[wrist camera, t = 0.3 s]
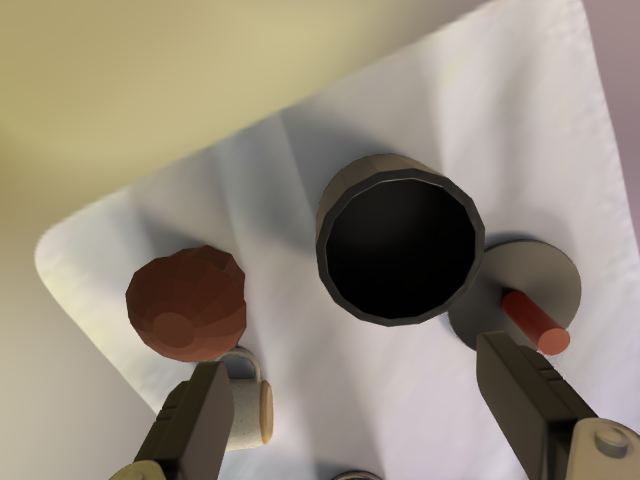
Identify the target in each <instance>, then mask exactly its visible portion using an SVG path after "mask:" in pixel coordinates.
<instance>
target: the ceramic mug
mask: <svg viewBox="0 0 640 480" xmlns="http://www.w3.org/2000/svg"><path fill="white" fill-rule="evenodd" d="M228 354H233V355H239V356H240V357H242V358H243V357H246V359H248V360H250V361H251V363H252V365H253V366H254V370H255V377H256V379H240V380H233V379H231V380H230V379H229V382H230V386H231V390H232V394H233V399H234V408H235V410H234V420H233V424H232V428H231V431H230V435H229V438H228V442H227V446H226V449H225V451H230V450H237V449H245V448H253V447H258V446H261V445H264V444H266V443H268V442H269V440H270V439H271V437H272V432H273V398H272V390H271V386H270V384H269V383H268V382H267V381H266V380H262V379H261V378H260V368H259V365H258V362H257V360H256V358H255V357H254V355H253V354H251V353H250V352H249V351H247V350H245V349H241V348H232V349H231V350H229V351H227V352H226V353H224V354H222V355H221V356H219V357H217V358H216V359H214V360H213V362H214V361H219V360H220V359H221V358H222V357H223V356H224V355H228Z"/></svg>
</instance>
